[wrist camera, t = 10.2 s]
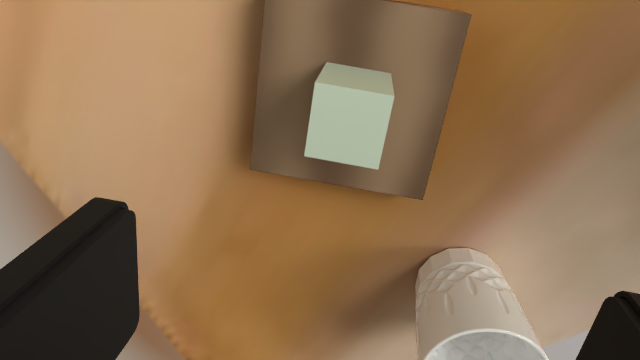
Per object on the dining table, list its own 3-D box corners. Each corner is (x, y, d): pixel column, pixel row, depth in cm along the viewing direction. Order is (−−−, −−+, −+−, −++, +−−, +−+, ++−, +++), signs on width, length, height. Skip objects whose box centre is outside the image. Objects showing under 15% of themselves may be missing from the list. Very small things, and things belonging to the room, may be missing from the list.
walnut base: (462, 11, 29) (471, 14, 27) (418, 182, 34) (422, 200, 32) (276, -19, 30) (266, -18, 27) (259, 154, 35) (249, 169, 32)
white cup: (418, 232, 36) (432, 319, 27) (521, 248, 36) (571, 341, 26) (400, 313, 39) (408, 415, 30) (494, 328, 39) (531, 436, 30)
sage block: (390, 73, 28) (394, 96, 23) (377, 134, 30) (378, 169, 25) (326, 62, 29) (314, 82, 23) (317, 123, 30) (304, 156, 25)
